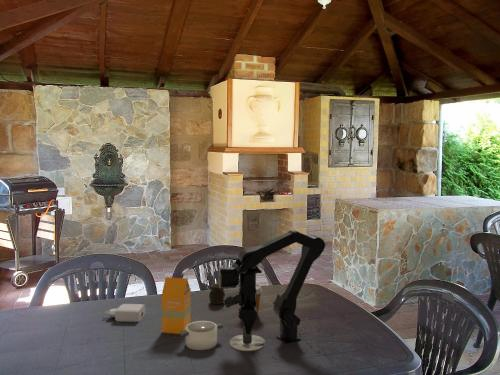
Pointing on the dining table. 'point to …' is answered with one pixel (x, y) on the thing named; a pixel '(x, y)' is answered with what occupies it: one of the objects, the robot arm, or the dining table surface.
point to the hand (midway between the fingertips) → (247, 328)
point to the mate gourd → (216, 294)
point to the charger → (128, 312)
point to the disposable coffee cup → (258, 296)
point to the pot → (201, 335)
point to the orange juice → (176, 305)
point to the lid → (247, 342)
